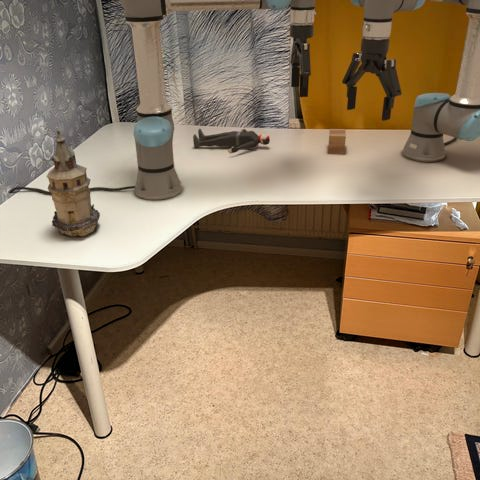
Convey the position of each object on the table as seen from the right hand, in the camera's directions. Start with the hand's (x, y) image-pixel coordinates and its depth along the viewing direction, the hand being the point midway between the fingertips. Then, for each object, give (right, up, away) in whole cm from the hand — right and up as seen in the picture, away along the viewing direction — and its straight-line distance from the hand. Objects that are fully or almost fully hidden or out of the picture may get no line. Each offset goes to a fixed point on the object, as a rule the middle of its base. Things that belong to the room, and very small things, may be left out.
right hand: (367, 114), depth 157 cm
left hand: (-18, +13, +23) cm, 32 cm away
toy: (-40, +1, +59) cm, 71 cm away
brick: (0, -2, +53) cm, 53 cm away
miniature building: (-84, -34, -1) cm, 91 cm away
